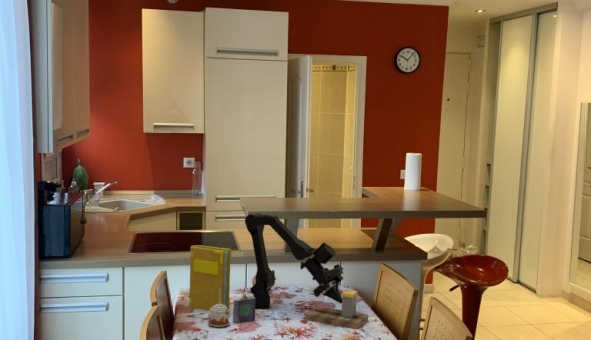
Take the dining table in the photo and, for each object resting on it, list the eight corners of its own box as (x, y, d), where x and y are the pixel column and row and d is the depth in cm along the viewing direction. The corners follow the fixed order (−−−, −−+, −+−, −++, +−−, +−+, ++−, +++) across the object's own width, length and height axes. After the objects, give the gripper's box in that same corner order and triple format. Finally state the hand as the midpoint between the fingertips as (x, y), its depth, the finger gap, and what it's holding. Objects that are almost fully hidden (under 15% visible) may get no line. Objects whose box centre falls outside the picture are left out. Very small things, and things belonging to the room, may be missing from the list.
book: (229, 309, 239) (231, 249, 237) (220, 313, 232) (222, 251, 231) (195, 303, 246) (196, 244, 244) (185, 306, 240) (187, 247, 238)
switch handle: (340, 320, 225) (341, 292, 224) (345, 316, 230) (346, 289, 230) (351, 322, 223) (352, 294, 223) (356, 318, 228) (357, 291, 228)
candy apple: (230, 327, 216) (232, 287, 215) (210, 328, 213) (211, 288, 213) (227, 321, 223) (228, 282, 222) (207, 322, 221) (208, 283, 220)
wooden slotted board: (304, 319, 228) (305, 312, 228) (316, 311, 239) (317, 305, 239) (357, 329, 219) (357, 322, 219) (367, 320, 230) (368, 314, 229)
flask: (234, 323, 220) (235, 296, 220) (231, 321, 223) (232, 294, 222) (256, 320, 225) (257, 293, 224) (252, 318, 227) (253, 291, 227)
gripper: (322, 262, 220) (348, 295, 216) (339, 254, 237) (364, 285, 233) (302, 280, 224) (327, 313, 220) (321, 271, 241) (345, 301, 237)
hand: (342, 302), depth 228 cm, fingers closed
